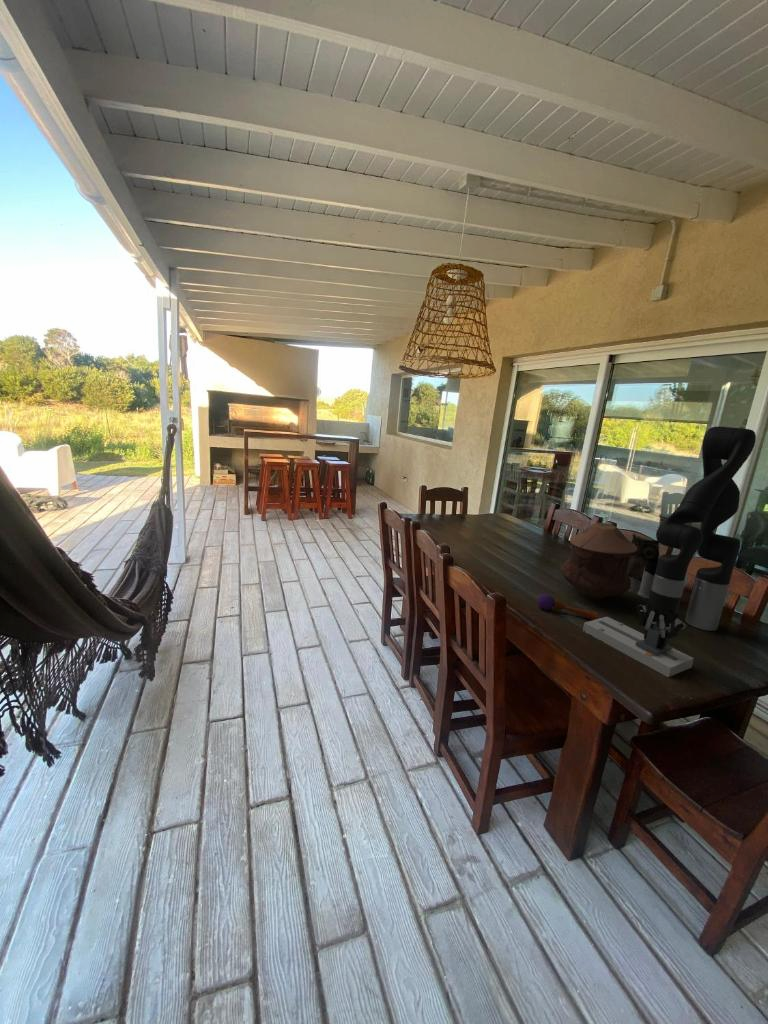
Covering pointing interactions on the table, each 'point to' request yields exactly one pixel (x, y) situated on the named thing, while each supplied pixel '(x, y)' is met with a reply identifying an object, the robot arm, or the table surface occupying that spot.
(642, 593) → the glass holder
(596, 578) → the pottery vessel
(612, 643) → the slider console
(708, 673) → the table surface
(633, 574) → the owl
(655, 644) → the fader tab
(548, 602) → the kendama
